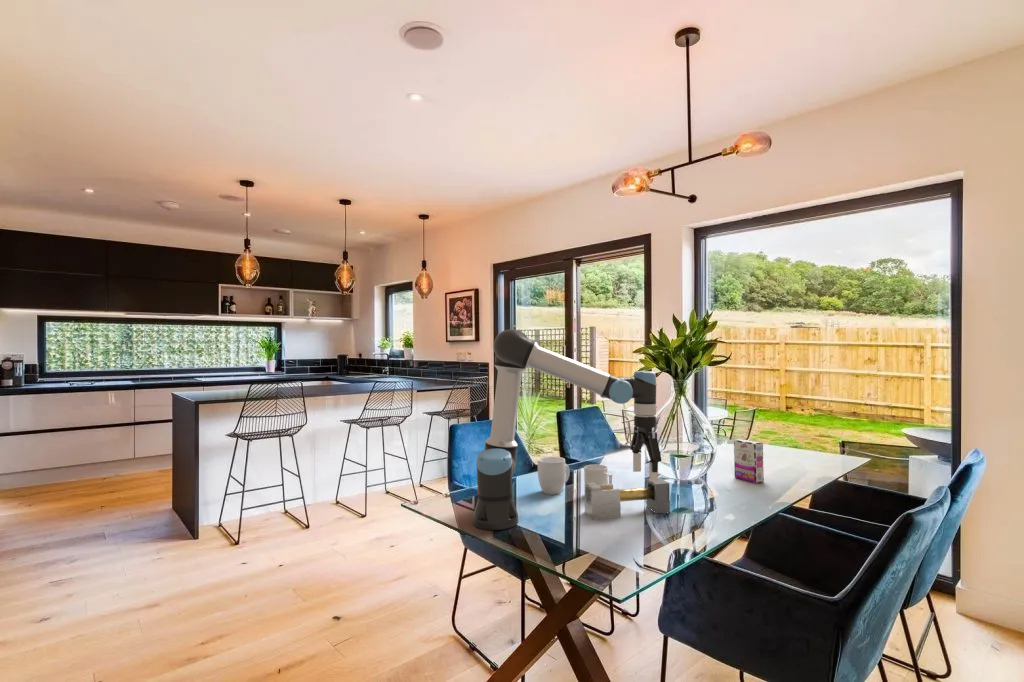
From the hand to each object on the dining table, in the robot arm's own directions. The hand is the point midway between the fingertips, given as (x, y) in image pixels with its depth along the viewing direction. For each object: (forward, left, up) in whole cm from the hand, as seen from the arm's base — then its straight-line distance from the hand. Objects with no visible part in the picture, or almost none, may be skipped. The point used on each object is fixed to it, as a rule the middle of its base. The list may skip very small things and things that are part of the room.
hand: (645, 476), depth 188 cm
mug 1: (-25, +31, -12) cm, 42 cm away
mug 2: (-10, +20, -12) cm, 25 cm away
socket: (+5, 0, -12) cm, 13 cm away
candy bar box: (+58, +27, -12) cm, 65 cm away
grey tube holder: (-16, 0, -12) cm, 20 cm away
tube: (-5, 0, -8) cm, 10 cm away
